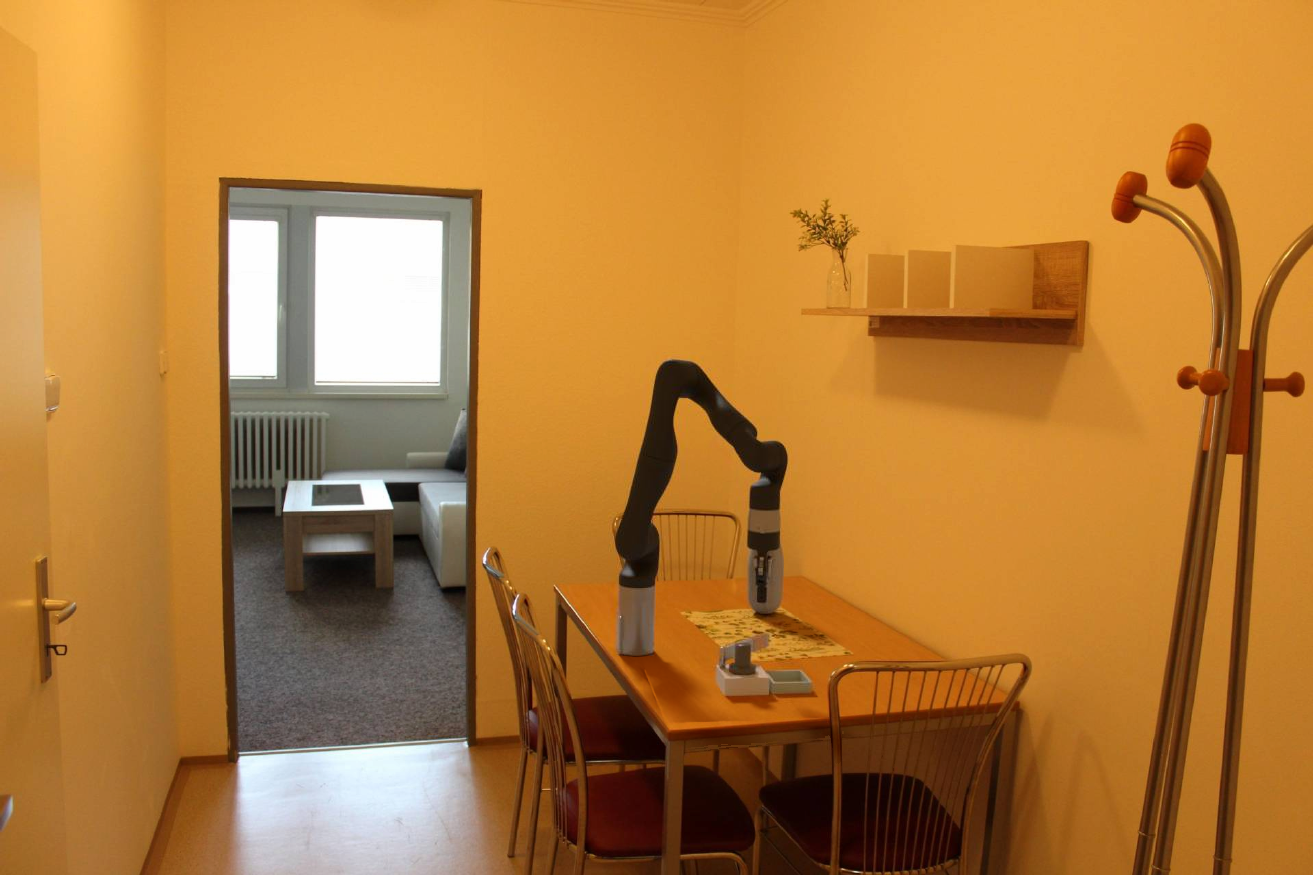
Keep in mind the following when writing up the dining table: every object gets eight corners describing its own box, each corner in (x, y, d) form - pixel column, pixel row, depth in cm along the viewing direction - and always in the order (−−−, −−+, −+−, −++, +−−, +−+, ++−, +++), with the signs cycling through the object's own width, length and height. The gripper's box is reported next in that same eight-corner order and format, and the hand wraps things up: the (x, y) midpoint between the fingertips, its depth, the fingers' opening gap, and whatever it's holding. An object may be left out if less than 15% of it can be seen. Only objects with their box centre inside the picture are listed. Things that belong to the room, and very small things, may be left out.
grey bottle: (787, 615, 309) (790, 520, 306) (756, 618, 305) (759, 521, 302) (771, 607, 318) (774, 514, 315) (740, 610, 314) (743, 516, 311)
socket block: (724, 696, 235) (725, 678, 235) (715, 681, 245) (716, 664, 244) (768, 695, 236) (769, 677, 236) (758, 680, 246) (758, 663, 246)
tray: (772, 694, 237) (773, 683, 237) (763, 681, 246) (763, 670, 246) (812, 693, 238) (812, 682, 238) (801, 680, 247) (801, 669, 247)
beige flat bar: (723, 668, 241) (723, 648, 241) (717, 667, 242) (718, 647, 242) (769, 652, 254) (769, 633, 254) (763, 651, 256) (764, 632, 255)
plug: (731, 692, 237) (732, 649, 236) (726, 683, 243) (727, 641, 242) (757, 691, 238) (759, 648, 237) (751, 683, 244) (753, 640, 243)
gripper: (750, 522, 252) (748, 594, 253) (744, 532, 239) (742, 608, 240) (782, 524, 250) (779, 596, 252) (778, 533, 237) (776, 610, 239)
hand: (761, 602), depth 246 cm, fingers closed
